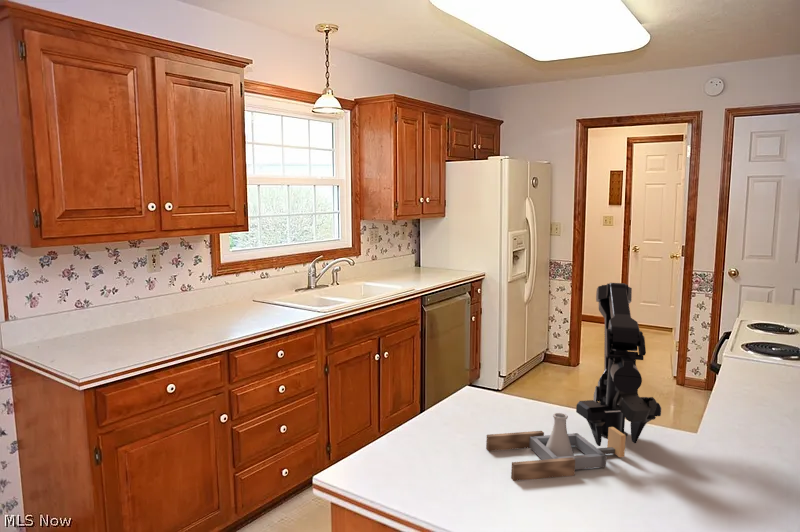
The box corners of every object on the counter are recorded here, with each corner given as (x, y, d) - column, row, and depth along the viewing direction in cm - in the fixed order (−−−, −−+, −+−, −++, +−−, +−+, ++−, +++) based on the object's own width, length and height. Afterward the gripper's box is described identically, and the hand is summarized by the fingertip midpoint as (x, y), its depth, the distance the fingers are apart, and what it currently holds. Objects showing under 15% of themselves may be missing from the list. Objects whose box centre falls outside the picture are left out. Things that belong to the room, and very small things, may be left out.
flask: (542, 462, 130) (545, 419, 129) (541, 449, 137) (543, 408, 136) (576, 465, 129) (578, 422, 127) (572, 452, 136) (575, 411, 135)
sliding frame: (603, 441, 141) (604, 420, 140) (634, 464, 129) (635, 441, 128) (529, 447, 137) (530, 426, 136) (554, 471, 125) (555, 448, 124)
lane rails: (540, 444, 139) (541, 430, 139) (574, 475, 124) (575, 459, 124) (486, 448, 136) (486, 434, 136) (513, 480, 121) (514, 464, 121)
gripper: (603, 392, 123) (599, 462, 125) (680, 388, 127) (674, 456, 129) (576, 376, 134) (573, 441, 136) (648, 373, 138) (643, 435, 140)
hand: (616, 443), depth 135 cm, fingers open, 9 cm apart
